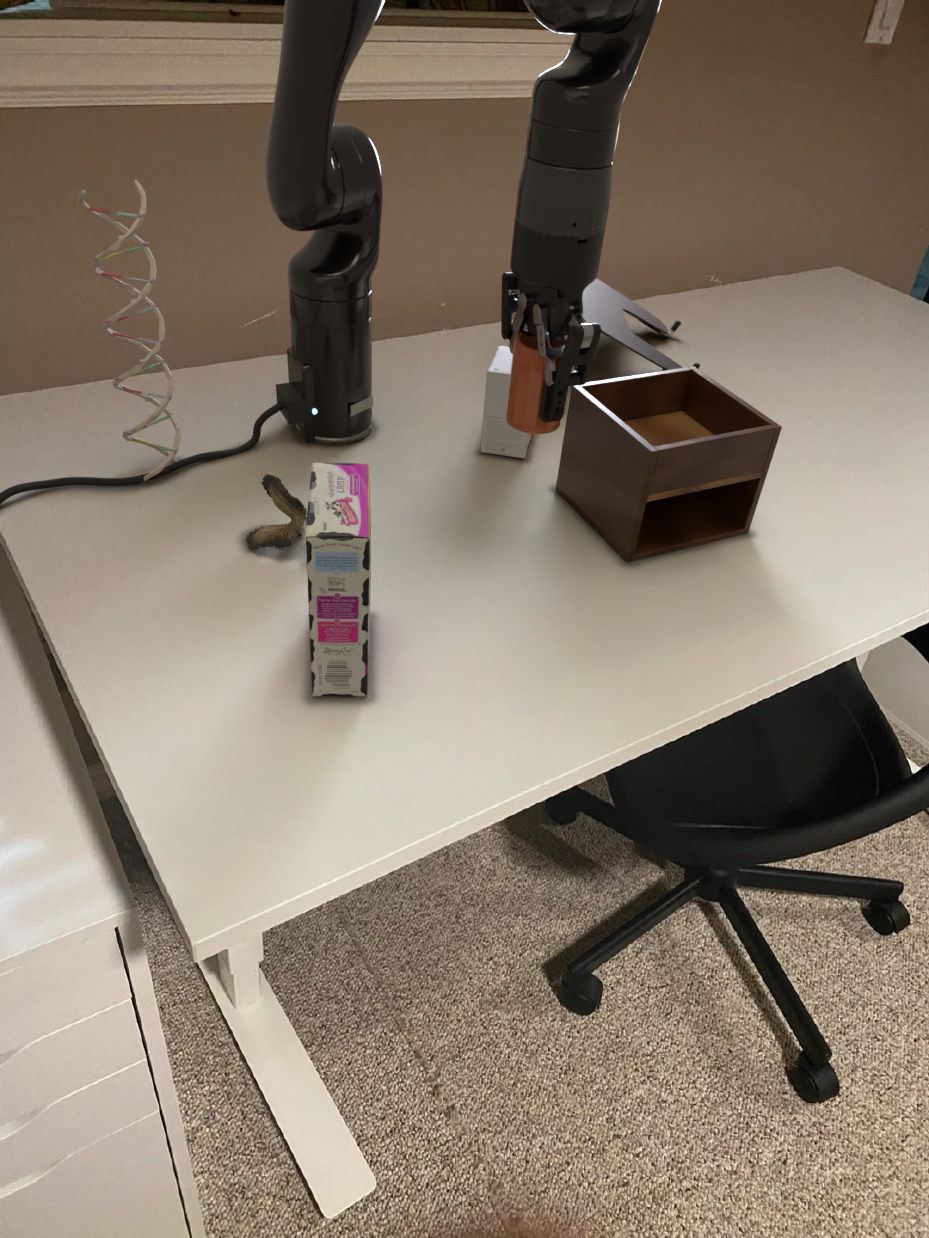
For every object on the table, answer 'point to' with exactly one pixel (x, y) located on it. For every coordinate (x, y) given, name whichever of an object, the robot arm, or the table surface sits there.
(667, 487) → the box
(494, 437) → the small box
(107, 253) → the dna model
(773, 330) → the table surface
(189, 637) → the table surface
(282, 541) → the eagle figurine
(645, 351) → the laptop tray
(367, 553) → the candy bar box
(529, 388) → the cup
